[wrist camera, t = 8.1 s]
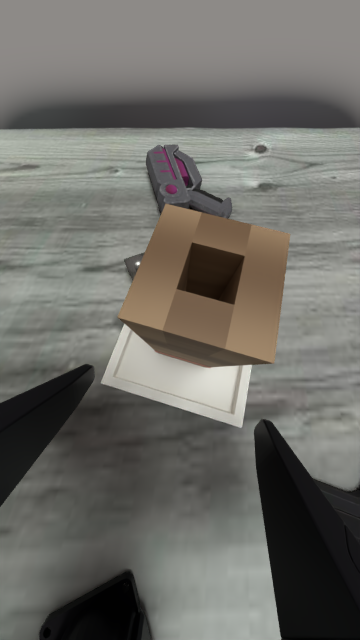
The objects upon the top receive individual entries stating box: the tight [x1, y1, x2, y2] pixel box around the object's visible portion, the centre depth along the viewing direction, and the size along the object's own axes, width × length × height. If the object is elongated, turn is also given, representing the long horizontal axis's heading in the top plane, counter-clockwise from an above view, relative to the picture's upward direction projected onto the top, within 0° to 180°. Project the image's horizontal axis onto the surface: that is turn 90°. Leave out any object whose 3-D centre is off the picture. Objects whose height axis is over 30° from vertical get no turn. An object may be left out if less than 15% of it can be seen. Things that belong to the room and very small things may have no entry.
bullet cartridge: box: [124, 252, 145, 280], centre depth 19 cm, size 10×2×2 cm, turn 113°
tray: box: [101, 324, 252, 428], centre depth 17 cm, size 13×13×2 cm
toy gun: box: [146, 145, 232, 219], centre depth 23 cm, size 14×3×10 cm
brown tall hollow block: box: [118, 204, 290, 368], centre depth 12 cm, size 5×5×12 cm
